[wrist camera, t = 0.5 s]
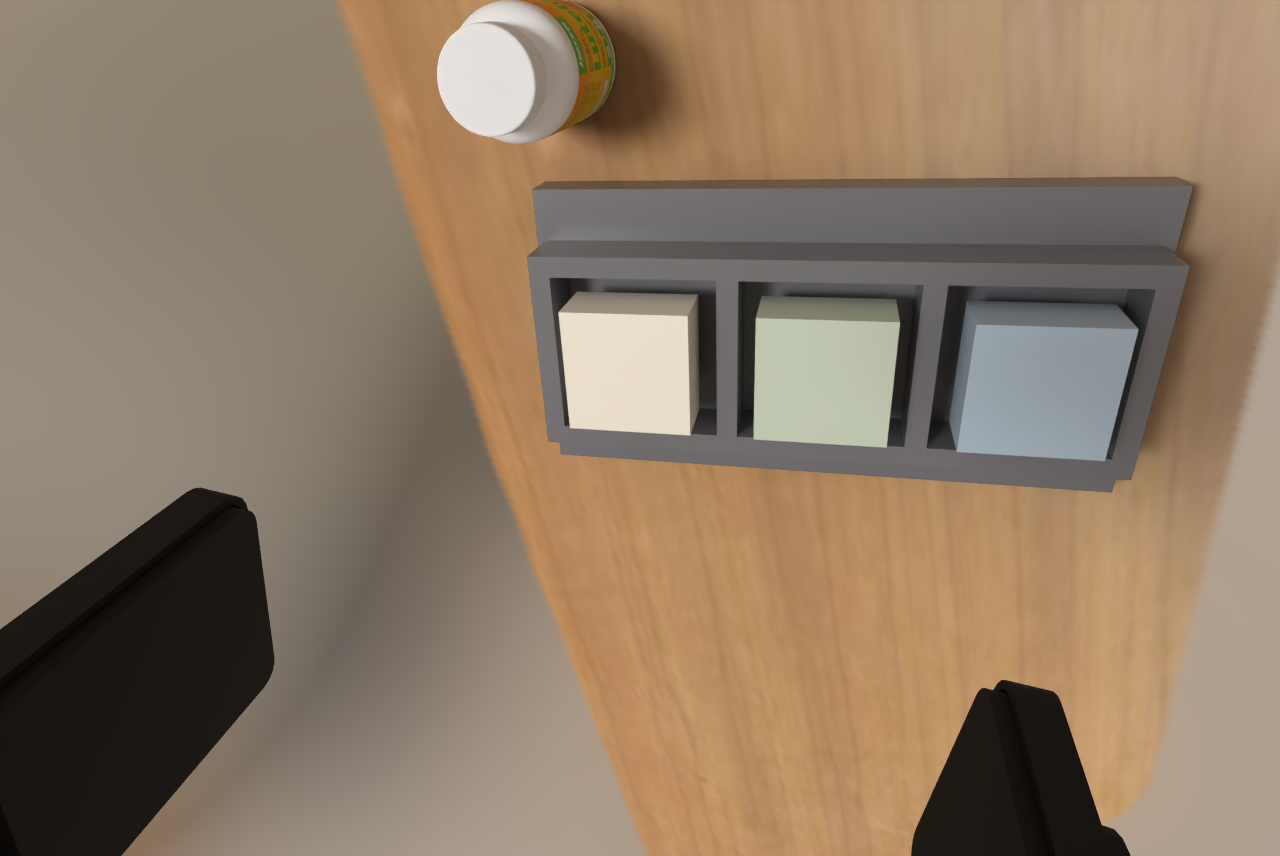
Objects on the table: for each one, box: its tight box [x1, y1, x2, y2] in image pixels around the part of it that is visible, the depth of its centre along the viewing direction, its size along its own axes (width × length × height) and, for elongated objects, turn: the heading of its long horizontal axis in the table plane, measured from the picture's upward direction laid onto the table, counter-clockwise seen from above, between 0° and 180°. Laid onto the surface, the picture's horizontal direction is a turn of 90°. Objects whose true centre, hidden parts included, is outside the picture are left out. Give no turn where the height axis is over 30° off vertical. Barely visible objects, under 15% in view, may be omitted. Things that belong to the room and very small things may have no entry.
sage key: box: [753, 296, 900, 448], centre depth 37 cm, size 6×6×3 cm
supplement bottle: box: [437, 0, 615, 144], centre depth 34 cm, size 5×5×10 cm
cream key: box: [558, 292, 700, 435], centre depth 39 cm, size 6×6×3 cm
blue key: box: [949, 301, 1139, 461], centre depth 35 cm, size 6×6×3 cm
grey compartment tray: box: [527, 177, 1193, 492], centre depth 39 cm, size 15×29×5 cm, turn 93°
